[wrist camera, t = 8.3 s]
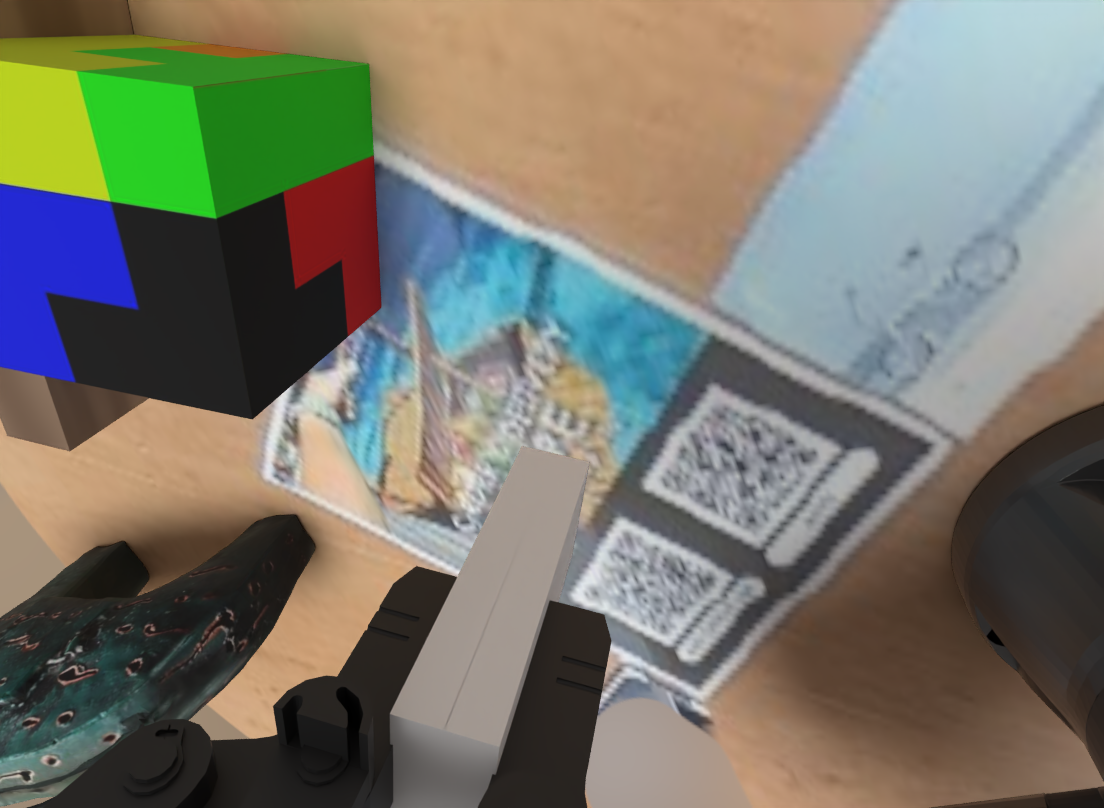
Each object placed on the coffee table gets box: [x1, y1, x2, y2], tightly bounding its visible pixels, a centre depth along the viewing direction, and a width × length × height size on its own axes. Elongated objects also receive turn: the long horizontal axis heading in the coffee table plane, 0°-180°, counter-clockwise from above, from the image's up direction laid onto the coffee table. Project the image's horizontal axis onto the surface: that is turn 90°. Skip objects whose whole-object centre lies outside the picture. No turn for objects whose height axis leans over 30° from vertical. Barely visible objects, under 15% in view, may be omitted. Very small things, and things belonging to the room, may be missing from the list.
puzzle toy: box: [0, 35, 381, 419], centre depth 24 cm, size 10×10×10 cm
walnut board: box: [0, 0, 149, 451], centre depth 26 cm, size 3×20×8 cm, turn 173°
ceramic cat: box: [0, 515, 315, 808], centre depth 33 cm, size 20×6×20 cm, turn 110°
